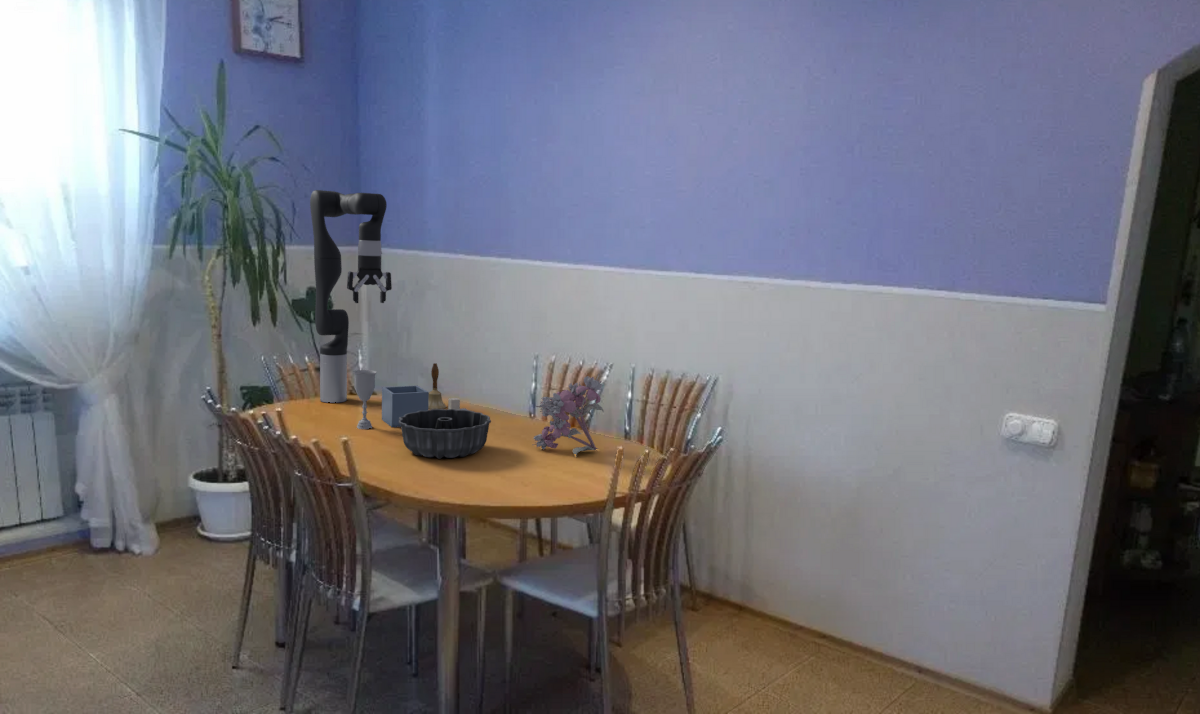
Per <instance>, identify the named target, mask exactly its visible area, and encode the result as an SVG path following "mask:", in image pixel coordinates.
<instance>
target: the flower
mask: <svg viewBox="0 0 1200 714" xmlns="http://www.w3.org/2000/svg"><path fill="white" fill-rule="evenodd" d="M599 377H600V373H598V374H597V377H596V379H595V377H594V376H591V377H590V376H588V375H587V376H585V377H583V383H584V385H582V384H581V381H578V382H575V383H574V384H572V382H570V383H569V384H568V388H569V389H565V390H562V391H557V393H555V392H553V393H552V397H551V396H550V397H549V396H543V397H541V399H542V401H540V403H539V404H540V405H535V407H536V408H540V411H539V413H540V414H541V416H542V417H548V416H551V417H552V420H553V421H551V420H550V421H549V426H544V427H543V429H542V431H541V433H539V434H537V435H535V436H533V442H534V444H532V445H531V446H535V445H536V448H540V449H541V448H542V449H543V450H545V449H546V448H547V447H548V448H550V449H554V450H555V449H557V448H558V446H559V443H558V442H557V443H556V442H555V441H556V440H557V439H560V438H561V437H565V438H568V439H572V440H574V441H576V442H578V443H581V444H583V445H584V446H581V447H580V446H578V447H574V448H572V453H573V455H574V454H576V455H577V456H578V453H581V452H580V451H582V452H586V451H595V450H596V449H599V448H598V447H596V445H595V443H594V441H593V439H592V436H591V434H590V433H589V430H588V428H587V425H586V421H585V419H584V416H585V415H587V414H589V416H593V415H592V412H591V411H592V410H596V411H602V413H605V411H604V409H603V407H602V406H601V405H600V404H599V403H601V400H602V398H601V396H600V395H599V393H598V392H597V391H600V390H601V389H602V387H603V383H602V380H600V379H598V378H599ZM584 395H585V397H584ZM587 400H588V401H590V402H592V401H595V403H590V404H587V405H586V403H587ZM567 413H568V414H569V415H570V416H571V417H572V418H575V419H576V421H577V423H578V424H579V427H580V428H581V430H582V432H583V433H584V435H585V437H586V439H587V440H588V442H587V441H585V440H583V439H582V438H578V437H576V435H579V434H580V435H582V433H581V432H580V431H579V430H578V429H577V428H575V427H572V428H571V422H569V421H568V420H570V416H568V415H567ZM596 451H597V450H596Z"/></svg>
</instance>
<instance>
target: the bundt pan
mask: <svg viewBox="0 0 1200 714" xmlns="http://www.w3.org/2000/svg"><path fill="white" fill-rule="evenodd" d="M490 417H491V416H489V415H487V414H484V413H483V412H476V411H474V410H469V409H467V410H456V409H448V408H447V409H446V408H444V409H428V410H427V411H418V412H413V413H408V414H405V415H404V416H403V417H399V424H400V425H401V427H400V428H401V434H402V440H403V444H404V446H405V447H406V448H407V450H409V451H410V452H412V453H413V455H416V456H418V457H422V455H423V457H425V458H434V457H436V458H437V459H438V460H441V459H443V458H444V457H445V458H447V459H453V458H456V457H460V458H465V457H467V456H468V455H474V454H475V453H477V452H478V451H480V450H482V449H483V448H484V447H485V445H486V443H487V439H488V434H489V428H490V424H491V422H492V420H491V418H490Z"/></svg>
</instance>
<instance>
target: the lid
mask: <svg viewBox="0 0 1200 714" xmlns="http://www.w3.org/2000/svg"><path fill="white" fill-rule="evenodd" d="M447 400H448V402H447V406H448V407H447V409H456V410H468V408H463V407H462V408H460V407H461V399H460V398H458V397H451V398H450V397H449V398H448V399H447Z"/></svg>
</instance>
